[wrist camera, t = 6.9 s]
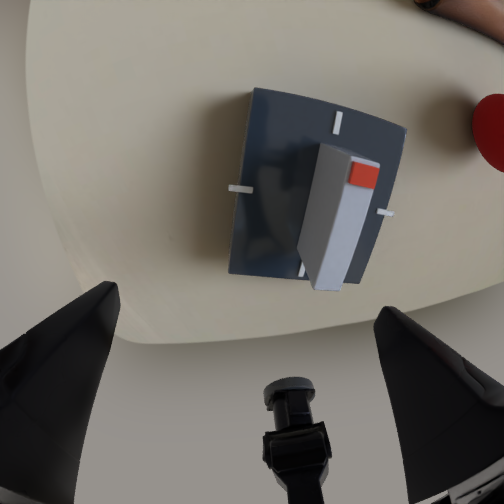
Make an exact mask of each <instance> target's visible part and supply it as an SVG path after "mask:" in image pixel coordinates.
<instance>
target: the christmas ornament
mask: <svg viewBox="0 0 504 504" xmlns="http://www.w3.org/2000/svg"><path fill="white" fill-rule="evenodd" d="M472 130H473V136H474V139H475V142H476V145H477V147H478V149H479V151H480V153H481V154H482V156H483V157H484V158H485V160H486V161H487V162H488V163H489V164H490V165H491V166H493V167H494V168H496V169H497V170H499V171H501V172H504V94H492V95H489V96H486V97H485V98H483V99H482V100H481V101H480V102H479V103H478V105H477V106H476V108H475V111H474V114H473V119H472Z"/></svg>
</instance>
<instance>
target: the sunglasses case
mask: <svg viewBox="0 0 504 504" xmlns="http://www.w3.org/2000/svg"><path fill="white" fill-rule="evenodd" d="M414 2H415V3H416V4H417V5H418V6H419V7H420V8H421V9H423V10H425V11H427V12H429V13H432V14H434V15H438V16H441V17H443V18H446V19H449V20H452V21H455V22H458V23H460V24H463V25H465V26H467V27H470V28H472V29H474V30H477V31H479V32H481V33H483V34H485V35H487V36H489V37H491V38H493V39H495V40H496V41H498V42H500V43H502V44H503V45H504V0H414Z"/></svg>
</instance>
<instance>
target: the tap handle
mask: <svg viewBox="0 0 504 504" xmlns="http://www.w3.org/2000/svg"><path fill="white" fill-rule="evenodd" d="M379 168H380V164H379V163H378V162H375V161H373V160H371V159H369V158H367V157H364V156H362V155H360V154H357V153H355V152H353V151H350V150H348V149H345V148H342V147H338V146H334V145H330V144H325V143H321V144H320V148H319V153H318V158H317V163H316V167H315V172H314V177H313V181H312V186H311V190H310V195H309V199H308V204H307V208H306V212H305V216H304V221H303V225H302V229H301V233H300V237H299V241H298V245H297V250H298V252H299V255H300V257H301V260H302V262H303V265H304V267H305V270H306V272H307V275H308V277H309V280H310V283H311V285H312V288H313V289H314V290H327V291H340V289H341V286H342V284H343V281H344V279H345V276H346V273H347V271H348V268H349V265H350V262H351V259H352V257H353V254H354V251H355V248H356V245H357V242H358V239H359V236H360V233H361V230H362V227H363V224H364V221H365V217H366V214H367V211H368V207H369V204H370V201H371V197H372V194H373V190H374V188H375V185H376V181H377V177H378V173H379V170H380V169H379Z"/></svg>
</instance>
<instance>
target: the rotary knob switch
mask: <svg viewBox="0 0 504 504" xmlns="http://www.w3.org/2000/svg"><path fill="white" fill-rule="evenodd" d="M406 133H407V129H406V128H404V127H402V126H399V125H397V124H394V123H392V122H389V121H386V120H384V119H381V118H378V117H375V116H372V115H369V114H366V113H363V112H360V111H357V110H354V109H350V108H347V107H344V106H340V105H337V104H333V103H329V102H325V101H321V100H317V99H313V98H309V97H305V96H300V95H295V94H290V93H285V92H280V91H274V90H268V89H262V88H254V89H253V90H252V92H251V95H250V102H249V108H248V115H247V121H246V128H245V134H244V141H243V148H242V155H241V162H240V169H239V176H238V184H237V185H231V184H229V189H228V191H235V192H236V199H235V206H234V214H233V222H232V230H231V238H230V246H229V261H228V273H229V274H239V275H250V276H261V277H273V278H285V279H297V280H309V277H308V275H307V272H306V270H305V267H304V265H303V262H302V260H301V257H300V255H299V252H298V250H297V245H298V241H299V237H300V233H301V229H302V225H303V221H304V216H305V212H306V208H307V204H308V199H309V195H310V190H311V186H312V181H313V177H314V172H315V167H316V163H317V158H318V153H319V148H320V144H321V143H325V144H330V145H334V146H338V147H342V148H345V149H348V150H350V151H353V152H355V153H357V154H360V155H362V156H364V157H367V158H369V159H371V160H373V161H375V162H378V163H379V164H380V168H379V169H380V170H379V173H378V177H377V181H376V185H375V188H374V190H373V194H372V197H371V201H370V204H369V207H368V211H367V214H366V217H365V221H364V224H363V227H362V230H361V233H360V236H359V239H358V242H357V245H356V248H355V251H354V254H353V257H352V259H351V262H350V265H349V268H348V271H347V273H346V276H345V279H344V281H343V283H354V284H359V283H360V281H361V278H362V276H363V274H364V271H365V268H366V266H367V263H368V261H369V258H370V255H371V253H372V250H373V247H374V245H375V242H376V239H377V236H378V233H379V230H380V227H381V224H382V221H383V218H384V215H387V216H392V217H393V215H394V211H390V210H386V209H387V206H388V202H389V199H390V196H391V192H392V189H393V185H394V182H395V178H396V175H397V171H398V167H399V163H400V159H401V155H402V151H403V146H404V142H405V137H406Z"/></svg>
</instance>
